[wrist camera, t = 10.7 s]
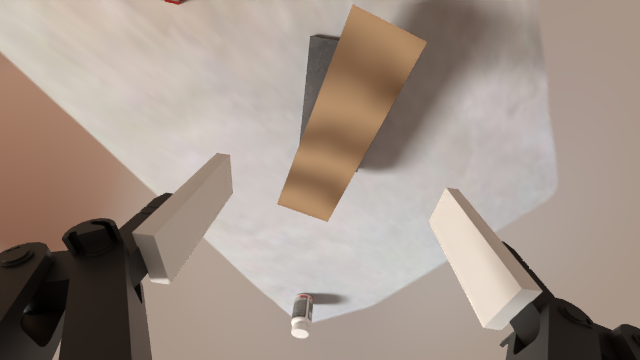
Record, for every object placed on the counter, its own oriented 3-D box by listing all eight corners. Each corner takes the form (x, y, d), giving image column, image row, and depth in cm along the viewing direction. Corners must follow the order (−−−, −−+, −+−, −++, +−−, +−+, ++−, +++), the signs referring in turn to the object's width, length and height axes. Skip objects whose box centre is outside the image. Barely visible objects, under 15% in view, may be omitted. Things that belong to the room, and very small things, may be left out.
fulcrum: (311, 36, 30) (304, 34, 24) (387, 48, 30) (399, 49, 24) (298, 160, 39) (291, 181, 33) (356, 169, 39) (360, 191, 33)
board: (350, 11, 22) (353, 4, 19) (412, 42, 23) (427, 41, 20) (284, 185, 33) (277, 204, 29) (328, 201, 34) (327, 221, 30)
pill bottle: (291, 299, 59) (285, 334, 52) (300, 290, 57) (295, 326, 50) (307, 306, 61) (303, 341, 53) (316, 297, 58) (314, 333, 51)
